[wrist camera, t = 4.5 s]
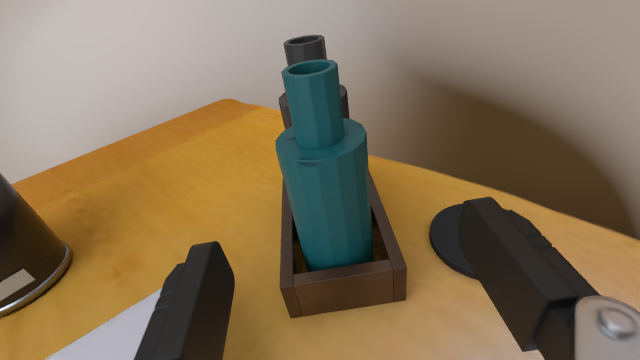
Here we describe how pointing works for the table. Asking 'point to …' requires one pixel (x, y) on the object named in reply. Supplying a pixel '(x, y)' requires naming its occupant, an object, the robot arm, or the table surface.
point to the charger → (113, 335)
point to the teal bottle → (325, 169)
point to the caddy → (341, 270)
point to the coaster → (450, 239)
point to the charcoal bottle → (301, 52)
